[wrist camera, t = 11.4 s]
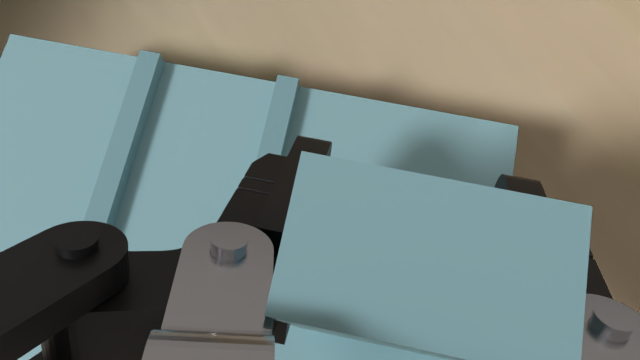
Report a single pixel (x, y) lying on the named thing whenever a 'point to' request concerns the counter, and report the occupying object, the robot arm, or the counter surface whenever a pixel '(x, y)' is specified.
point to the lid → (303, 201)
